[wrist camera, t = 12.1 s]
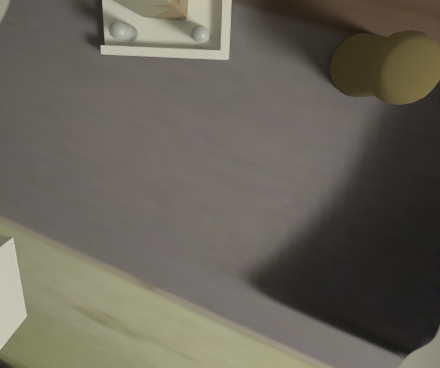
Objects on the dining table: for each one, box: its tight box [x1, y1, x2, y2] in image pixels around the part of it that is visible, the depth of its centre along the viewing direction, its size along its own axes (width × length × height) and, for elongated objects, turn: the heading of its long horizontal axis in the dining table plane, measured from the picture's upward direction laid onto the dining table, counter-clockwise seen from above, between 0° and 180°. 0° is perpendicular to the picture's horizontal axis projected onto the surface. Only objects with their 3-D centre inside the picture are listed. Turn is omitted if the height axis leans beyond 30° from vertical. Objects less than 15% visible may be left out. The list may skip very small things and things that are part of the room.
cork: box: [330, 30, 440, 105], centre depth 30 cm, size 6×6×11 cm
